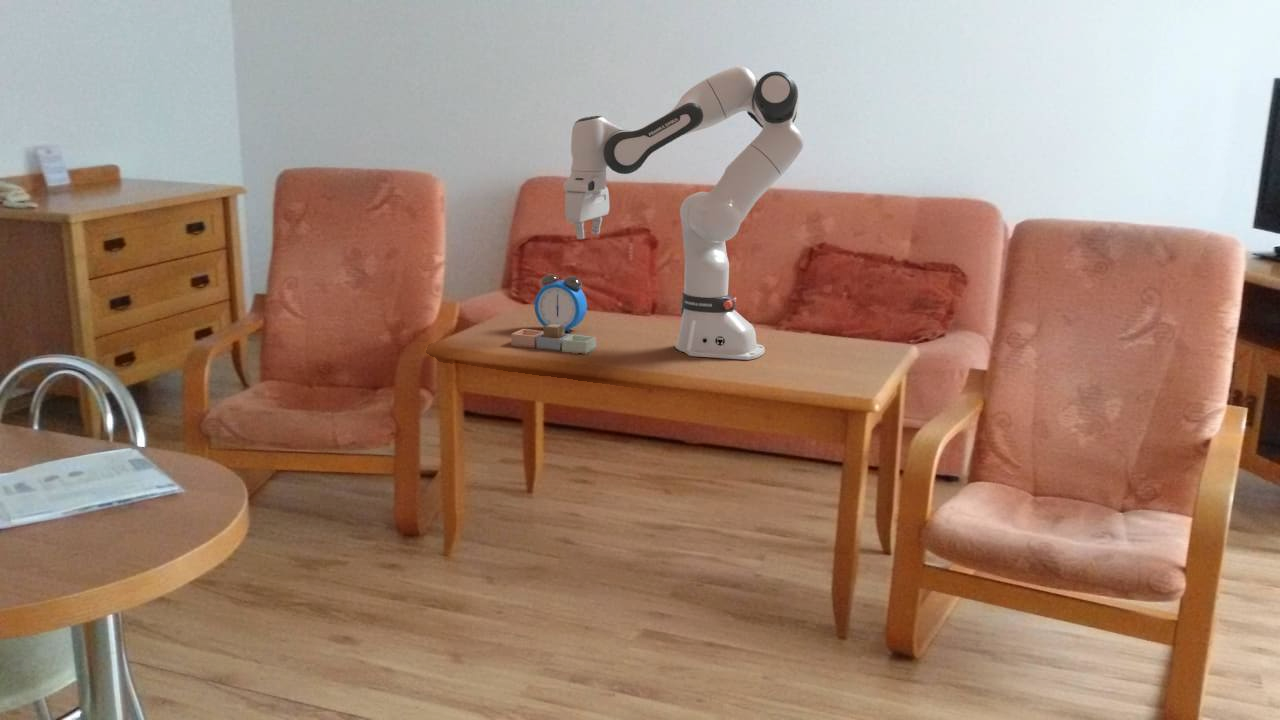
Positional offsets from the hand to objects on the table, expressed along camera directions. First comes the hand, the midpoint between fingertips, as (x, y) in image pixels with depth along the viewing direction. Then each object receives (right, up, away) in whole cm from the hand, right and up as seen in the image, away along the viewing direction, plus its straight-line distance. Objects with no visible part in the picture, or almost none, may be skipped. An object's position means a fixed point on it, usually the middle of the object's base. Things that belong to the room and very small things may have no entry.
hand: (588, 236), depth 287 cm
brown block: (-8, -28, -4) cm, 29 cm away
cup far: (-15, -28, -1) cm, 31 cm away
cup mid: (-9, -28, -4) cm, 30 cm away
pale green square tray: (-2, -29, -6) cm, 30 cm away
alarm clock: (-8, -24, +15) cm, 29 cm away
